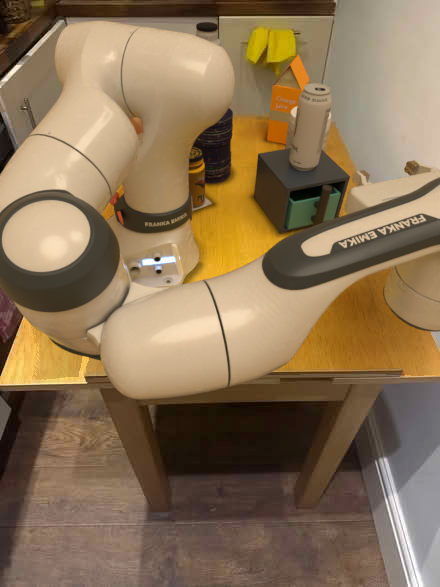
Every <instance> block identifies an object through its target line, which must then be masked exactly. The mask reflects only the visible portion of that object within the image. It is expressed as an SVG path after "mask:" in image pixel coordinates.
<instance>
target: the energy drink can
mask: <svg viewBox="0 0 440 587" xmlns="http://www.w3.org/2000/svg"><path fill="white" fill-rule="evenodd" d="M331 92H332V88H331V87H330V86H329V85H326V84H323V83H316V82H315V83H313V82H311V83H309V84H307V85H305V86H304V90H303V91H302V93H301V94H300V96H299V100H298V106H297V112H296V119H295V125H294V131H293V137H292V144H291V150H290V156H289V161H290V162H291V165H292V167H293V168H295V169H297V170H300V171H310V170H312V169H314V168H315V166H317V165H318V163H319V158H320V154H321V149H322V145H323V140H324V136H325V131H326V127H327V122H328V117H329V113H331V108H332V104H333V97H332V93H331Z"/></svg>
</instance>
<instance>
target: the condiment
mask: <svg viewBox="0 0 440 587" xmlns="http://www.w3.org/2000/svg"><path fill="white" fill-rule="evenodd" d="M189 191H190V192H191V196H192V203H193V211H197V210H199V209H202V208H205V207H207V206H210V205H212V204H213V203H212V201H211V200H209V199H208V198H207V197H206V183H205V164H204V162H203V153H202V151H201V150H200V149H198V148H195V147H192V149H191V152H190V157H189Z"/></svg>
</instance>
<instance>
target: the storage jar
mask: <svg viewBox="0 0 440 587" xmlns="http://www.w3.org/2000/svg"><path fill="white" fill-rule="evenodd" d="M233 118H234V112H233V110H232V109H231V108H230V107H229V108H228V110H227V112H226V113H225V114H224V116H223V117H222V118H221V119H220V120H219V121H218V122H217V123H215V124H214V125H212V126H210V127H209V128H207V129H206V130H204V131H203V132H202V133H201V134H200V135H199V136H198V137H197V139H196V140H195V142H194V144H193V146H192V147H195V148H198V149H200V150H201V151H202V153H203V162H204V164H205V184H210V185H213V184H219V183H223V182H225V181H226V180H228V179H229V178H230V176H231V167H232V150H231V143H232V142H231V141H232V138H233V130H234V124H233V121H234V120H233Z"/></svg>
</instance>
